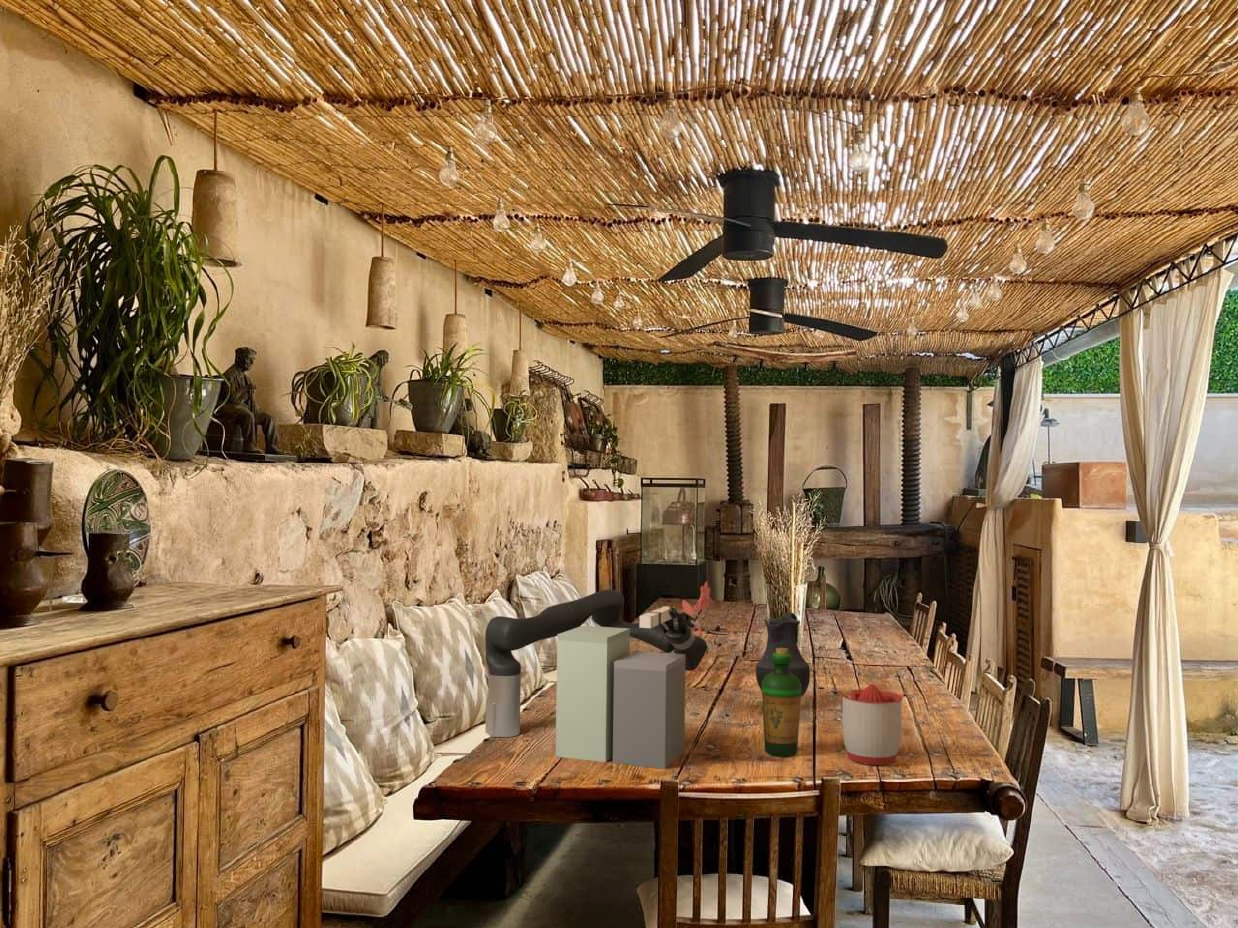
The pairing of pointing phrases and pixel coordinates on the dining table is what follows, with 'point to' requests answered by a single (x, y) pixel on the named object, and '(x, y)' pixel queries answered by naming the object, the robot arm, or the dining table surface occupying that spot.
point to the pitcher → (783, 636)
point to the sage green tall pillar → (587, 690)
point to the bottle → (781, 707)
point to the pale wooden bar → (655, 617)
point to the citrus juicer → (871, 725)
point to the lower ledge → (649, 709)
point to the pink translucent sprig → (688, 609)
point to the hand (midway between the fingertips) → (664, 608)
